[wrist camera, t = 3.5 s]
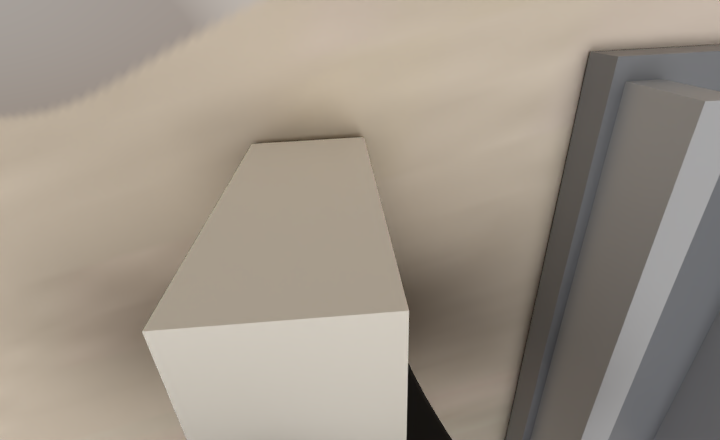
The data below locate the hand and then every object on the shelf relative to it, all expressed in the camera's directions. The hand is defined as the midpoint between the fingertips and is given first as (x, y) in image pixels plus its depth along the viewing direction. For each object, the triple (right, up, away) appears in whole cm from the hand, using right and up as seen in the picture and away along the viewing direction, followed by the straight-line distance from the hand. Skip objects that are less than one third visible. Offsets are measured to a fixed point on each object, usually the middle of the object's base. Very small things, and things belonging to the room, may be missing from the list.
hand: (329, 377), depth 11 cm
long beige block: (0, +1, +1) cm, 2 cm away
